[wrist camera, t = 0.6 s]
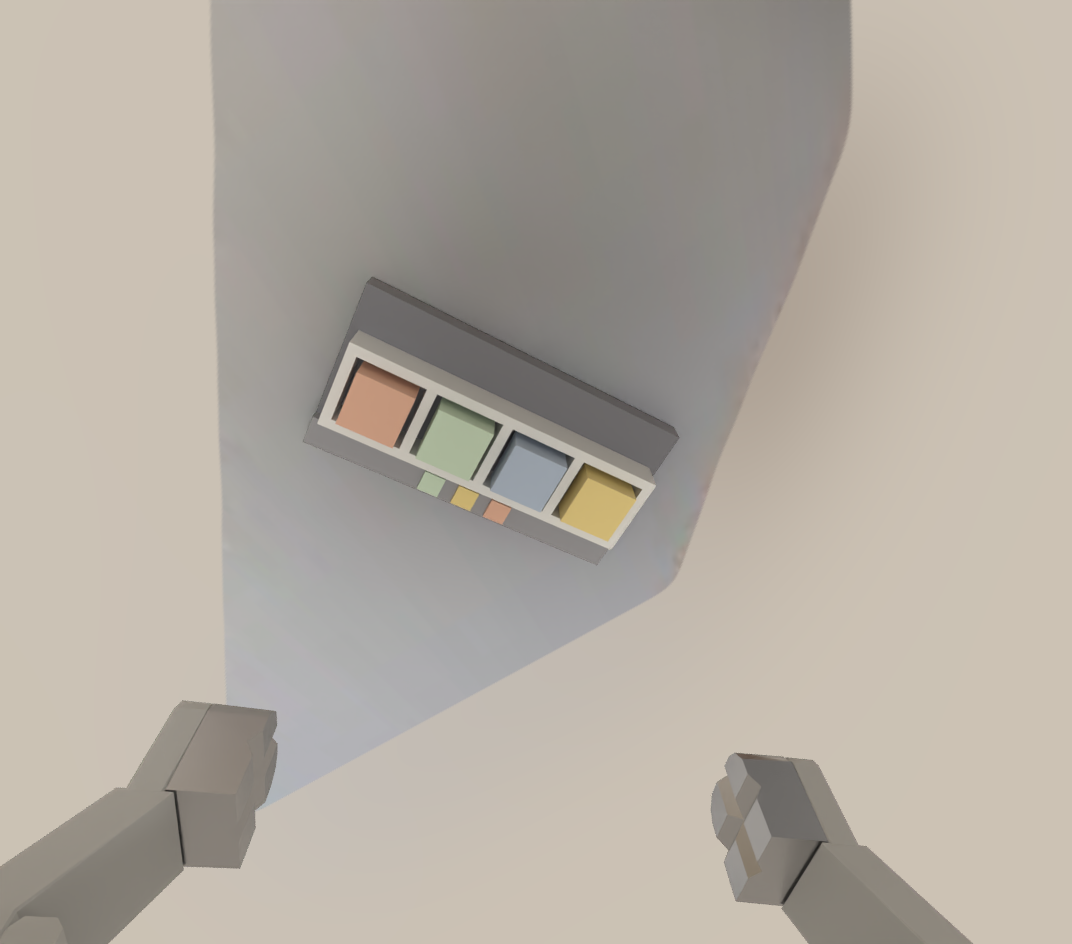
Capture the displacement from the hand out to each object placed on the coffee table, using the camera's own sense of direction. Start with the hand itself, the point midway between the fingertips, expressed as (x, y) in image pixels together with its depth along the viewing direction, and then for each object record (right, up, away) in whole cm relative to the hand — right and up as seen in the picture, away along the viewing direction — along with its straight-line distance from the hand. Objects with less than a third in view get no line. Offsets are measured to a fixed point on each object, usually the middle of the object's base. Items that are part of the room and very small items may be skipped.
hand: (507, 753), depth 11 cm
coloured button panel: (-3, +9, +42) cm, 43 cm away
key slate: (0, +6, +39) cm, 40 cm away
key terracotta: (-11, +11, +36) cm, 39 cm away
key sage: (-6, +8, +38) cm, 39 cm away
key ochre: (+5, +3, +41) cm, 41 cm away
